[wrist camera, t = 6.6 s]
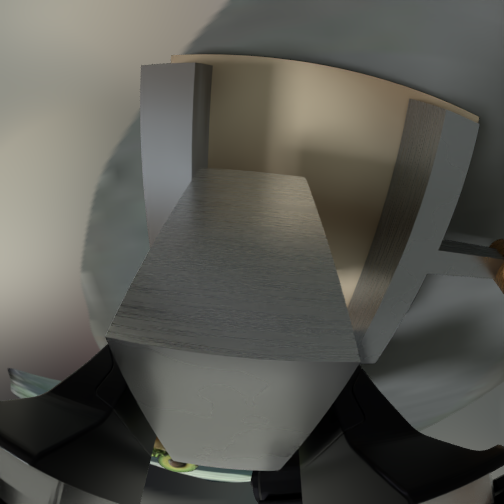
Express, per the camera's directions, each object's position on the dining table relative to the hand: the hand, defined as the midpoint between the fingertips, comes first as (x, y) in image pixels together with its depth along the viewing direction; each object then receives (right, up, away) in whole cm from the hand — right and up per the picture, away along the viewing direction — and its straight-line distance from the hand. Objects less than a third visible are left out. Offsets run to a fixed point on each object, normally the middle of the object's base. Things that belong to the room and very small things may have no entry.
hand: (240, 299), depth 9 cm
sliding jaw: (+12, +2, +4) cm, 13 cm away
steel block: (0, +1, +2) cm, 2 cm away
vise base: (+4, +4, +6) cm, 8 cm away
